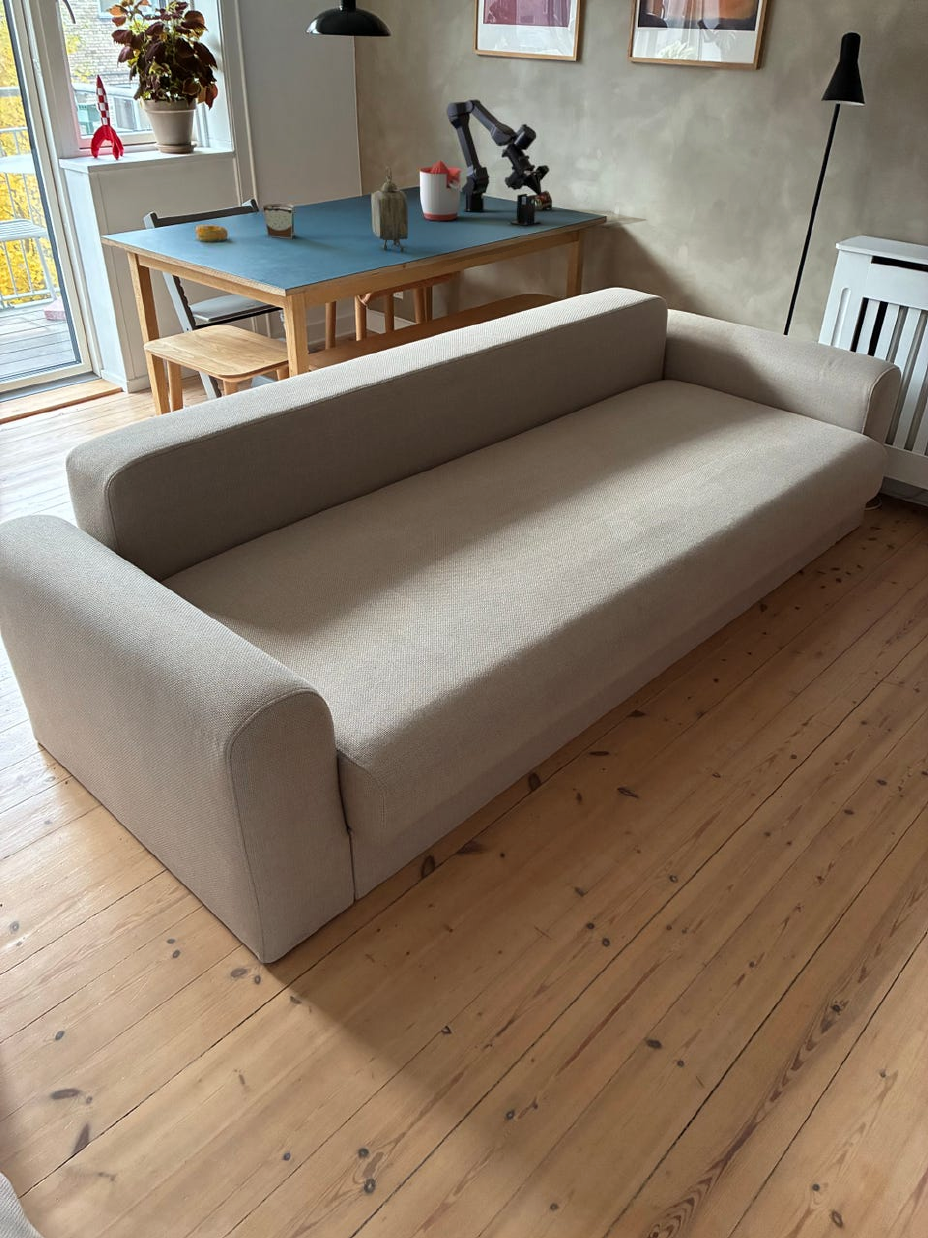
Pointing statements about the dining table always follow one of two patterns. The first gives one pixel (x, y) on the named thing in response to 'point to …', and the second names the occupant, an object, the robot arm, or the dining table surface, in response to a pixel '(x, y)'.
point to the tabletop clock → (390, 213)
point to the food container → (279, 220)
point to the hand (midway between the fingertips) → (540, 194)
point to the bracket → (525, 211)
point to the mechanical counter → (544, 201)
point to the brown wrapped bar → (535, 199)
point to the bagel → (211, 233)
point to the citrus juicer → (440, 192)
